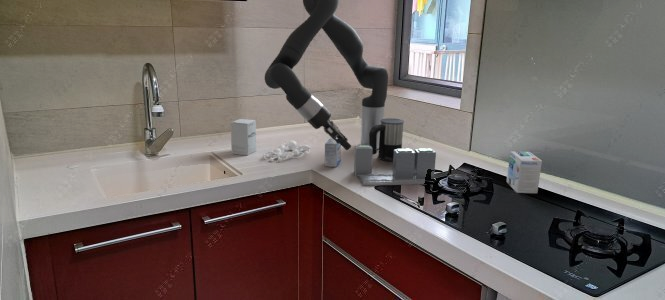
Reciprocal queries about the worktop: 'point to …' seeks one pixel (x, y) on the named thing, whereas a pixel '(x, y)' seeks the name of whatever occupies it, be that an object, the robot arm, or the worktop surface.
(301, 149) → the white lumpy mound
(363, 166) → the block
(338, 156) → the medicine box
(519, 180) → the light bulb box
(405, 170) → the grey module rack
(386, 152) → the milk frother
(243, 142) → the supplement box
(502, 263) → the worktop surface
